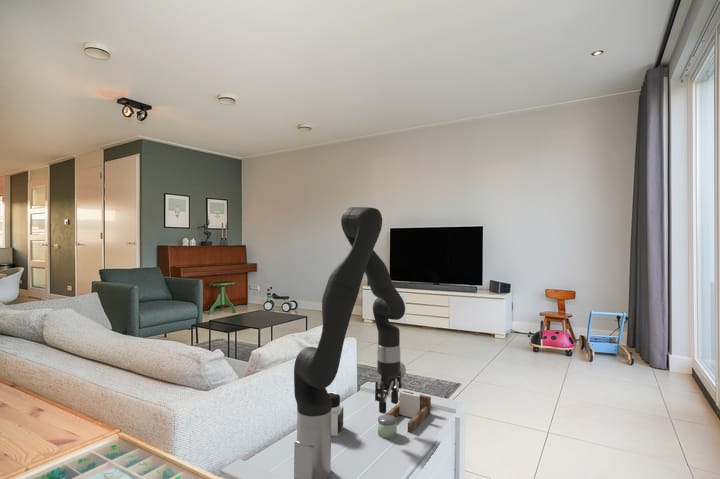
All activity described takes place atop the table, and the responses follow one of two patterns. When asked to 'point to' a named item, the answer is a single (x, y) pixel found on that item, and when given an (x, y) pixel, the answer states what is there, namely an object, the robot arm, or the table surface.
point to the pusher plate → (409, 404)
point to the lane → (419, 417)
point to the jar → (387, 426)
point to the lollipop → (402, 369)
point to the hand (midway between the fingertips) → (388, 407)
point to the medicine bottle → (336, 414)
